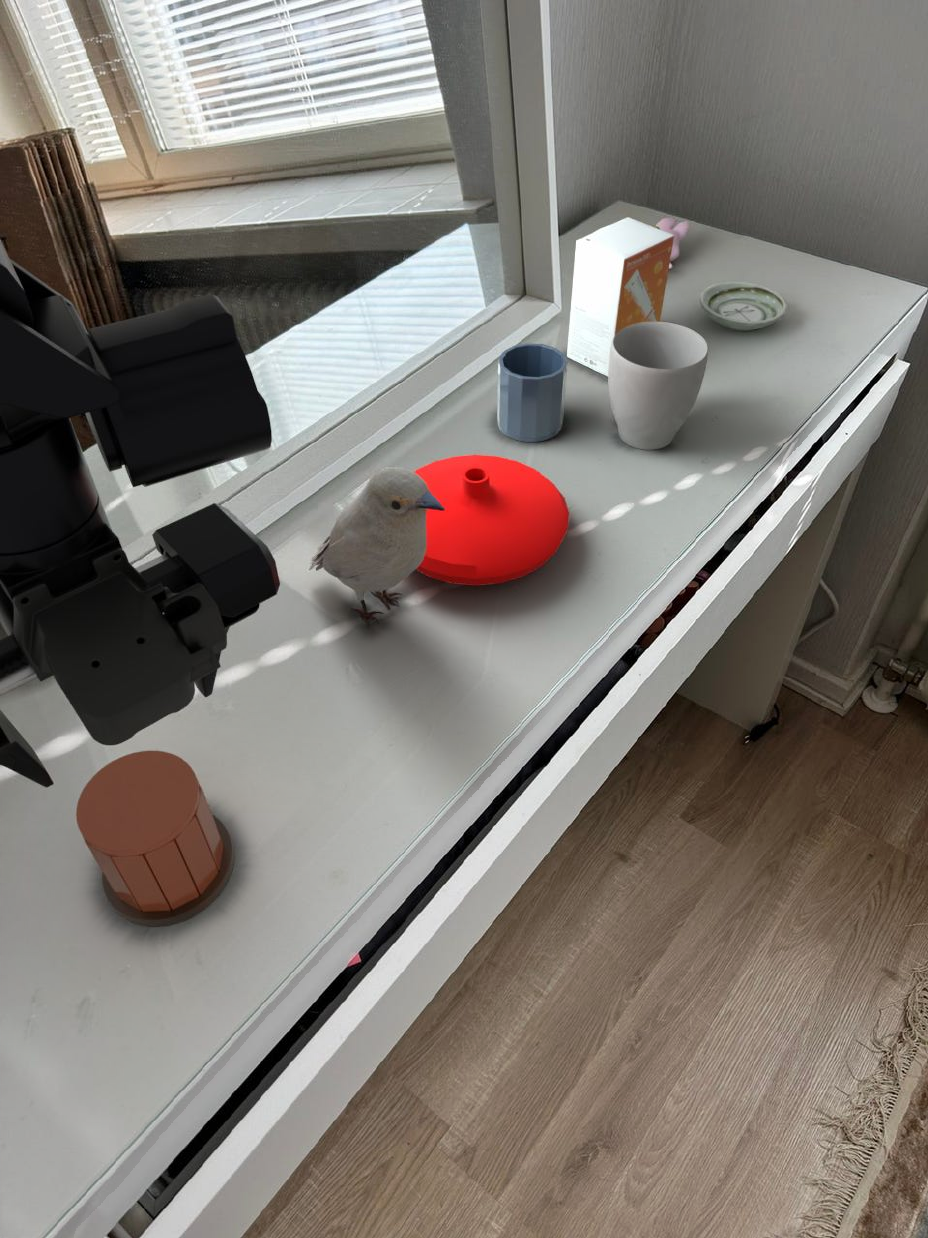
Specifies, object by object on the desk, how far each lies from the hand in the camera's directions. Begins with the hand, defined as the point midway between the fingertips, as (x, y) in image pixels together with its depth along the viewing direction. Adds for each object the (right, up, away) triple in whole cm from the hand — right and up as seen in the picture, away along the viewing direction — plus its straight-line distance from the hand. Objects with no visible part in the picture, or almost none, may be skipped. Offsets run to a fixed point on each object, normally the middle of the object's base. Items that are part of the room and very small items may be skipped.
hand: (129, 734), depth 50 cm
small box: (+34, +35, +51) cm, 71 cm away
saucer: (+50, +40, +56) cm, 85 cm away
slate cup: (+25, +26, +42) cm, 55 cm away
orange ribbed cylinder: (0, -9, +8) cm, 12 cm away
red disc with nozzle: (+19, +13, +30) cm, 38 cm away
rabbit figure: (+42, +51, +66) cm, 93 cm away
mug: (+37, +25, +41) cm, 61 cm away
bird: (+11, +7, +24) cm, 27 cm away
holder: (0, -9, +8) cm, 12 cm away
